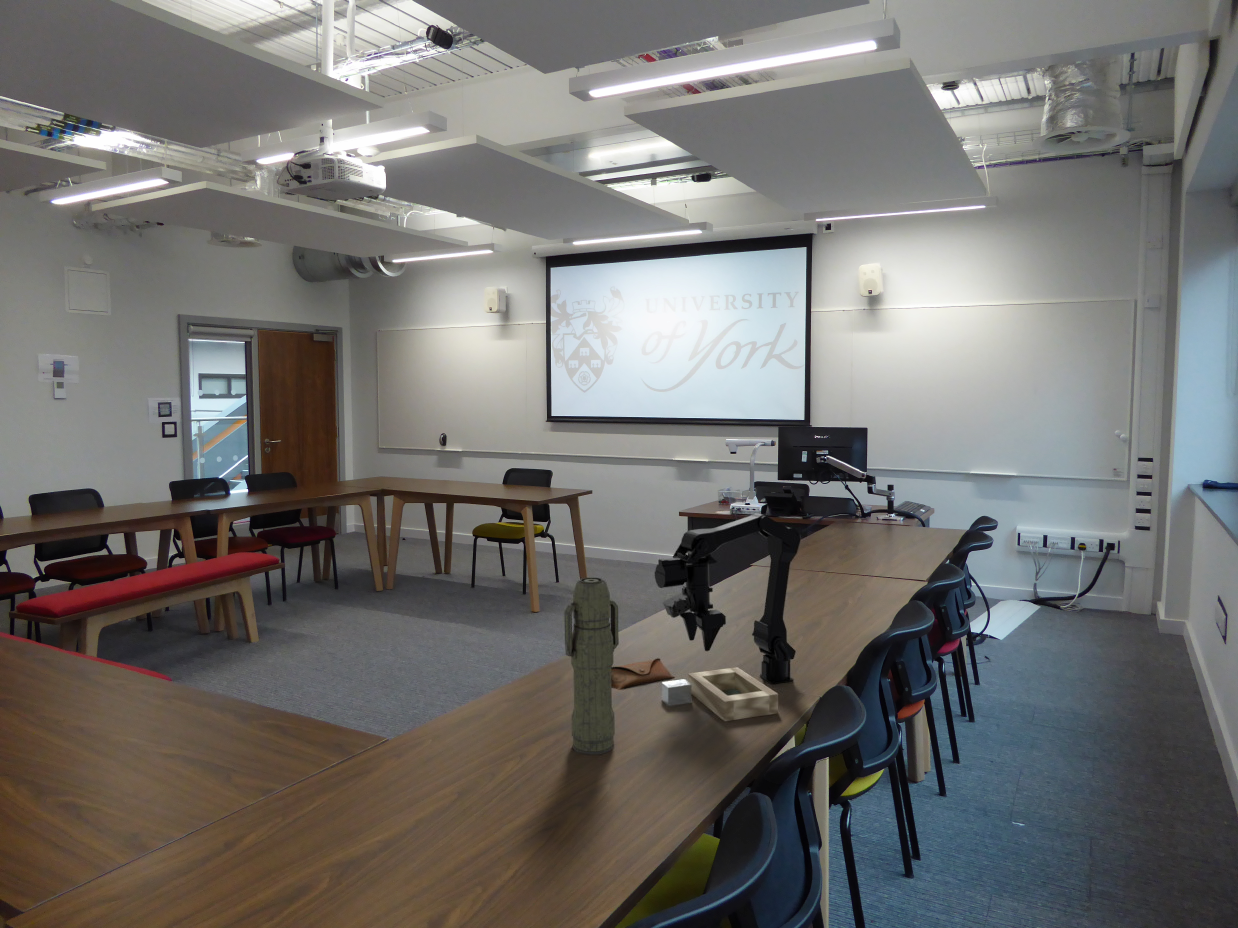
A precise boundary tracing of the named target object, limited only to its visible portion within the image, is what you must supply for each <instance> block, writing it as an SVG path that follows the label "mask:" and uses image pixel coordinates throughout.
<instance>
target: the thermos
mask: <svg viewBox="0 0 1238 928" xmlns="http://www.w3.org/2000/svg"><path fill="white" fill-rule="evenodd" d="M572 600H573V602H571V603H570V604H568V605H567V606H566V608H565V610H564V614H563V615H564V649H565V656H568V657H569V658H570V664H571V666H572V669H573V709H572V713H571V737H572V748H573V750H574V751H575V752H577V753H579V754H582V755H587V756H588V755H591V756H593V755H594V756H595V755H602V754H606V753H609V752H610V751H612V750H613V749H614V747H615V740H614V739H615V738H614V737H615V734H616V733H615V730H616V729H615V726H616V725H615V724H616V723H615V712H614V708H613V706H612V705H613V704H612V702H613V701H612V693H613V692H612V686H611V667H613V665H614V652H615V650H616V649H617V646H619V640H620V639H619V606H618V604H617V602H616V601H614V600H613V599H611V594H610V590H609V585H608V584H607V581H606V580H604V579H602V578H600V577H585V578H581V579H580V580H577V581H576V583H575V587H574V589H573V593H572ZM572 617H573V618H572ZM573 619H574V623H573Z"/></svg>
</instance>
